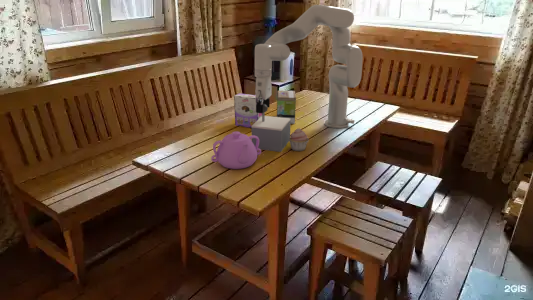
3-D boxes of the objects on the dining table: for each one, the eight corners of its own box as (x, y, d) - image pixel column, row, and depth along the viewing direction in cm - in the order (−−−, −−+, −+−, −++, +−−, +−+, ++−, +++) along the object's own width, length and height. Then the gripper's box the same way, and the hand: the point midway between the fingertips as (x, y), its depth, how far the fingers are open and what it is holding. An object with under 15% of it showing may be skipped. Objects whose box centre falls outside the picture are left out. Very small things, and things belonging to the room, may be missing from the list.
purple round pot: (221, 180, 161) (220, 147, 155) (206, 159, 179) (204, 129, 174) (273, 171, 169) (273, 139, 163) (253, 151, 187) (253, 122, 182)
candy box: (262, 125, 219) (262, 95, 213) (257, 129, 215) (257, 98, 208) (239, 122, 225) (239, 92, 218) (234, 125, 220) (233, 95, 214)
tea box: (295, 124, 222) (296, 97, 217) (276, 123, 222) (277, 97, 217) (294, 115, 236) (295, 90, 230) (276, 115, 236) (277, 89, 231)
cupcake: (305, 154, 185) (306, 132, 181) (285, 151, 188) (286, 130, 184) (310, 146, 193) (311, 126, 189) (291, 143, 196) (292, 123, 192)
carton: (290, 139, 201) (290, 120, 197) (281, 151, 187) (281, 131, 183) (262, 136, 205) (262, 117, 201) (251, 148, 191) (251, 127, 187)
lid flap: (290, 120, 197) (290, 101, 193) (281, 130, 183) (281, 111, 180) (262, 117, 201) (262, 99, 197) (251, 127, 187) (251, 108, 184)
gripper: (265, 77, 175) (264, 116, 182) (276, 69, 191) (276, 105, 197) (248, 76, 177) (248, 114, 184) (261, 68, 193) (261, 104, 199)
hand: (262, 109), depth 191 cm, fingers open, 9 cm apart
